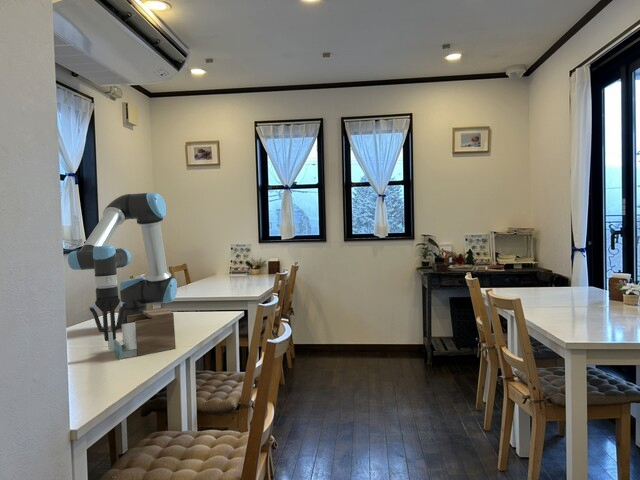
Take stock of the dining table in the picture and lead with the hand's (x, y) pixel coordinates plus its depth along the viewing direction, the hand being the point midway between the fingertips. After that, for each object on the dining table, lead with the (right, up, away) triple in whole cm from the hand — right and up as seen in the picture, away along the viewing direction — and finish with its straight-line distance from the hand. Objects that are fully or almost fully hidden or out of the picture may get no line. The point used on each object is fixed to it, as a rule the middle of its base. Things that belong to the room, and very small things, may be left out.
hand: (111, 348), depth 171 cm
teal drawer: (+7, -2, +5) cm, 9 cm away
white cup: (+8, -1, +2) cm, 8 cm away
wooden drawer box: (+12, -2, +8) cm, 15 cm away
